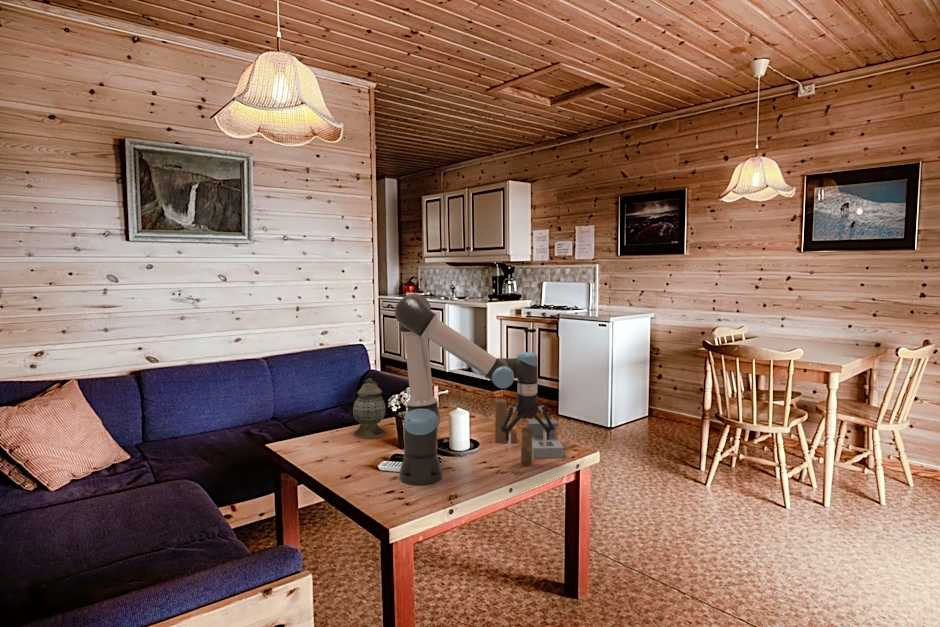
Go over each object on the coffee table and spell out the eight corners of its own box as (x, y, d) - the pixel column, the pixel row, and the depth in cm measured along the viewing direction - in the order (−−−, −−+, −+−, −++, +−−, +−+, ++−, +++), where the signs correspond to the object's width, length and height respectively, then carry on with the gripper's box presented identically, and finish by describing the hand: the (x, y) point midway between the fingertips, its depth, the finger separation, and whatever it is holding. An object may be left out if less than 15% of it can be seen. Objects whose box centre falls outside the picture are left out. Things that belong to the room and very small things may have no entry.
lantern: (347, 433, 254) (346, 377, 252) (374, 426, 264) (373, 373, 261) (364, 440, 244) (363, 383, 241) (391, 433, 253) (391, 378, 251)
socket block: (533, 458, 224) (534, 431, 222) (526, 444, 239) (526, 419, 238) (563, 457, 224) (564, 430, 223) (554, 444, 240) (555, 418, 239)
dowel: (522, 466, 215) (522, 430, 214) (520, 462, 219) (520, 426, 218) (532, 465, 215) (533, 429, 214) (530, 462, 219) (531, 426, 218)
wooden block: (515, 439, 246) (516, 399, 244) (516, 443, 241) (517, 401, 240) (495, 439, 246) (495, 398, 244) (495, 443, 241) (495, 401, 240)
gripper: (495, 396, 210) (495, 452, 212) (562, 395, 212) (561, 450, 214) (493, 392, 217) (493, 446, 219) (557, 390, 219) (557, 444, 221)
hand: (527, 448), depth 217 cm, fingers open, 13 cm apart
